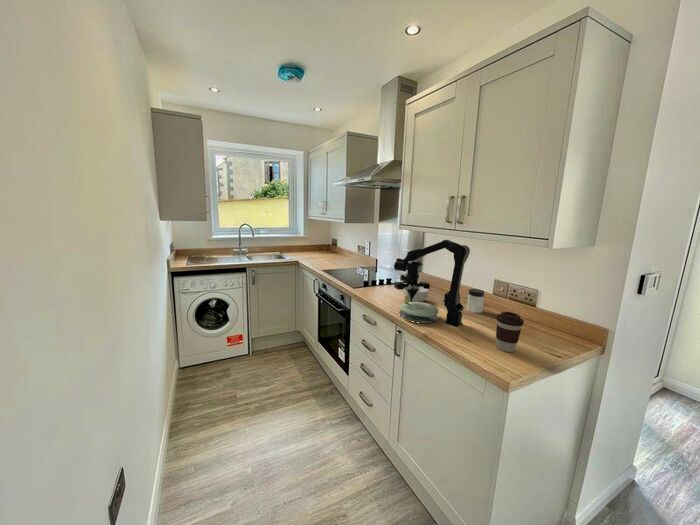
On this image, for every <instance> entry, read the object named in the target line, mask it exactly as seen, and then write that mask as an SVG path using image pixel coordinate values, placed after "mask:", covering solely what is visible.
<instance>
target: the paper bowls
mask: <svg viewBox="0 0 700 525" xmlns="http://www.w3.org/2000/svg"><path fill="white" fill-rule="evenodd" d="M409 286H411V285H409ZM419 289H420V290H419V291H417V293H416V294H415V296H414V298H413V299H412V302H421V303H424V301H425V300H427V299H428V297H429V291H430V289H424V288H423V287H419ZM405 295H409V294H408V291H407V290H406V289H405V288H404V289H403V296H404V297H405ZM409 302H411V300H410V297H409Z"/></svg>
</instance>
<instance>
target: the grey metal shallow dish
mask: <svg viewBox="0 0 700 525" xmlns="http://www.w3.org/2000/svg"><path fill="white" fill-rule="evenodd" d="M399 314H400V316H401V317H403V318H404V319H407V320H410V321H414V322H419V323H431V324H434V323H437V322H438V321H439V317H438V314H437V315H435V316H428V317H424V316H415V315H411V314H408V313H405V312H403V311H402V310H401V309H400V311H399ZM399 314H398V315H399ZM400 316H399V317H400ZM401 317H400V318H401ZM404 319H403V320H404Z"/></svg>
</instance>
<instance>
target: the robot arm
mask: <svg viewBox="0 0 700 525" xmlns="http://www.w3.org/2000/svg"><path fill="white" fill-rule="evenodd" d="M443 249H445V250H447V251H449V252H450V253H453V260H454V267H453V271H452V277H451V281H450V282H451V283H450V287H449V290H448V291H447V292H446V293H444V299H443V301H442V302H444V306H445V308H446V312H447V313H446V319H445V321H444V323H445V324H448V325H451V326H454V327H459V326H462V325H463V324H464V323H463V322H462V320H463V310H464V309H465V307H464V306H463V304H462V303H461V295H460V288H461V284H462V283H461V282H462V278H463V272H464V267H465V263H466V262H467V260H468V259H469V258H468V257H469V256H470V253H471V249H470V248H469V246H468V245H466V244H459V243H457V242H454V241H452V240H450V239H443V240H442V241H438V242H436V243H434V244H431V245H428V246H425V247H423V248H417V249H412V250H409V251H408V252H407V253H406V254H407V255H406V256H405V258H404V259H403V258H400V257H398V258H397V257H396V260H395V262H394V264H393V268H394V270H395V271H398V272H407V273H406V275H405V274H401V275H400V278H399V280H400V281H395V282H394V284H393V286H394V288H395V289H396V290H398V291H399V290H404V288H405V289H406V290H407V291H408V294H409V297H410V300H411V301H412V299H413V298H414V296H415V294H416V293H417V291H419V290H420V289H419V287H423V288H424V289H428V290H430V288H431V284H430V283H429V282H427V281H419V282H418V280H419V278H420V275H419V267H421V266H424V264H423V263H422V262H421V261H420V259H422V258H425V256H427V255H429V254H432V253H436V252H437V251H441V250H443ZM402 281H403V282H402ZM409 285H411V286H409ZM411 301H410V302H411Z"/></svg>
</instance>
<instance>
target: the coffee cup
mask: <svg viewBox="0 0 700 525" xmlns="http://www.w3.org/2000/svg"><path fill="white" fill-rule="evenodd" d="M495 319H496V321H497V322H496V327H495V328H496V330H495V331H496V332H495V338H496V339H495V347H496V348H497V349H498V350H500V351H503V352H507V353H514V352H515V351H516V348H517V344H518V342H519V339H520V335H521V331H522V326H523V325H524V323H525V320H524V319H523V318H521V316H520V315H519V314H517V313H514V312H510V311H503V312H501V313H499V314H496V317H495Z"/></svg>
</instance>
